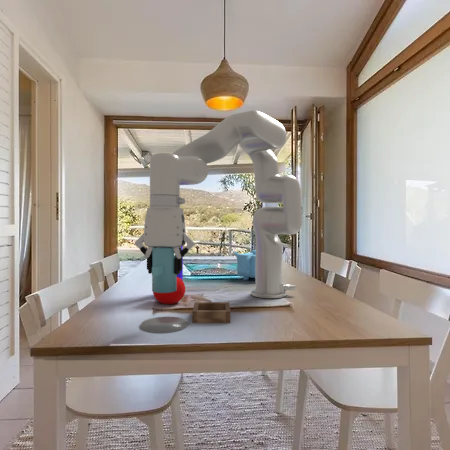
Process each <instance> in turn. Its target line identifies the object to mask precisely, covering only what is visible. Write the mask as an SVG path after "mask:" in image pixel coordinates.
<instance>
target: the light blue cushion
mask: <svg viewBox="0 0 450 450" xmlns="http://www.w3.org/2000/svg"><path fill="white" fill-rule="evenodd" d="M232 253H233V254H234V255H235V257H236V262H237V275H236V276H237V277H243V278H242V281H248V280H249V277H250V279H255V278H256V249H253V250H252V251H251V252H246V253H238V252H235V251H232Z"/></svg>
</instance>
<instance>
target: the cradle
mask: <svg viewBox="0 0 450 450" xmlns="http://www.w3.org/2000/svg"><path fill="white" fill-rule="evenodd" d="M191 320H192V324H231V305H230V302H229V301H227V302H226V301H222V302H221V301H214V302H213V301H212V302H211V301H195V302H194V305H193V308H192V319H191Z"/></svg>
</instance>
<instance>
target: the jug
mask: <svg viewBox="0 0 450 450" xmlns="http://www.w3.org/2000/svg"><path fill="white" fill-rule="evenodd" d="M175 259H176V254H175V252H174V248H166V247H154V248H152V273H151V291H152V293H153V292H156V293H170V292H175V291H176V290H177V274H174V260H175Z"/></svg>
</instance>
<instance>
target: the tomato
mask: <svg viewBox="0 0 450 450" xmlns="http://www.w3.org/2000/svg"><path fill="white" fill-rule="evenodd" d="M177 275H178V274H177ZM152 294H153V297H154V298H155V300H156V301H158V302H159V303H161V304H162V305H173V304H177V303H179V302H180V301H181V300H182V299H183V298H184V297H185V294H186V286H185V282H184V281H182V279H181V278H179V277H177V290H176V291H175V292H170V293H156V292H153V291H152Z"/></svg>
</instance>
